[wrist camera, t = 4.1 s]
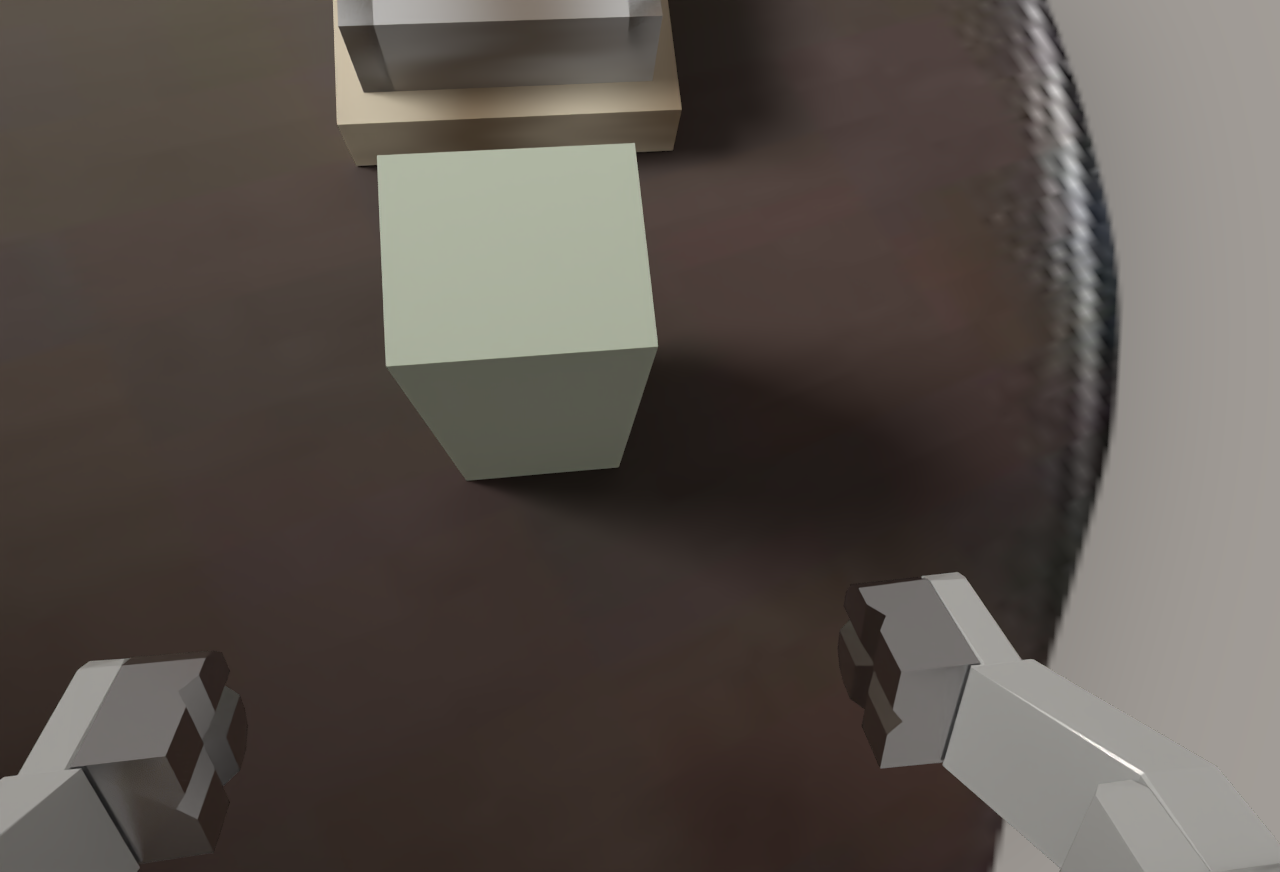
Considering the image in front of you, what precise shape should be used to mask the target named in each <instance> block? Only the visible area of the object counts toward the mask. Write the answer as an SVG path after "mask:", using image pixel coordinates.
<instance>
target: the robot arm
mask: <svg viewBox="0 0 1280 872" xmlns="http://www.w3.org/2000/svg"><path fill="white" fill-rule="evenodd" d="M844 608H845V610H846V612H847V614H848V617H849V619H850V620H849V621H848V622H847V623H846V624H845V625H844V626H843V627H842V628H841V629H840V632H839V641H838V657H839V668H840V671H841V675H842V679H843V683H844V685H845V688H846V690H847V693H848V695H849V697H850V699H851V700H853V701H854V702H855V703H857V704H858V705H859V706H861V707H862V708H864V709H865V710H864V716H863V721H862V728H863V730H864V733H865V735H866V737H867V740H868V742H869V744H870V746H871V749H872V751H873V753H874V756H875V758H876V760H877V763H878V765H879V767H880V768H890V767H900V766H911V765H921V764H931V763H941V762H944V763H943V766H944V767H945V768H946V769H947V770H948V771H949V772H951V773H952V774H953V775H954V776H955V777H956V778H957V779H959V780H960V781H961V782H962V783H963V784H964V785H965V786H967V787H968V788H969V789H970V790H971V791H972V792H974V793H975V794H976V795H977V796H978V797H979V798H980V799H982V800H983V801H984V802H985V803H986V804H987V805H988V806H990V807H991V808H992V809H993V810H994V811H995V812H996V813H998V814H999V815H1000V816H1001V817H1002V818H1003V819H1004V820H1006V821H1007V822H1008V823H1009V824H1010V825H1011V826H1012V827H1014V828H1015V829H1016V830H1017V831H1018V832H1019V833H1020V834H1022V835H1023V836H1024V837H1025V838H1026V839H1027V840H1028V841H1030V842H1031V843H1032V844H1033V845H1034V846H1035V847H1036V848H1038V849H1039V850H1040V851H1041V852H1042V853H1043V854H1045V855H1046V856H1047V857H1048V858H1049V859H1050V860H1051V861H1053V862H1054V863H1055V864H1056V865H1057V866H1058V867H1060V868H1061V870H1060V872H1280V843H1279V842H1278V841H1277V839H1276V838H1275V837H1274V836H1273V834H1272V833H1271V832H1270V831H1269V830H1268V828H1267V827H1266V826H1265V825H1264V823H1263V822H1262V821H1261V820H1260V819H1259V817H1258V816H1257V815H1256V814H1255V812H1254V811H1253V810H1252V809H1251V808H1250V806H1249V805H1248V804H1247V802H1246V801H1245V800H1244V799H1243V798H1242V796H1241V795H1240V794H1239V793H1238V791H1237V790H1236V789H1235V788H1234V787H1233V785H1232V784H1231V783H1230V782H1229V780H1228V779H1227V778H1226V777H1225V776H1224V774H1223V773H1222V772H1221V771H1220V769H1219V768H1218V767H1217V766H1216V765H1214V764H1212V763H1210V762H1209V761H1207V760H1205V759H1204V758H1202V757H1200V756H1199V755H1197V754H1195V753H1193V752H1191V751H1190V750H1188V749H1186V748H1185V747H1183V746H1181V745H1180V744H1178V743H1176V742H1174V741H1173V740H1171V739H1169V738H1168V737H1166V736H1164V735H1162V734H1160V733H1159V732H1157V731H1155V730H1154V729H1152V728H1150V727H1149V726H1147V725H1145V724H1143V723H1142V722H1140V721H1138V720H1137V719H1135V718H1133V717H1131V716H1130V715H1128V714H1126V713H1124V712H1123V711H1121V710H1119V709H1118V708H1116V707H1114V706H1113V705H1111V704H1109V703H1107V702H1106V701H1104V700H1102V699H1100V698H1099V697H1097V696H1095V695H1094V694H1092V693H1090V692H1088V691H1087V690H1085V689H1083V688H1082V687H1080V686H1078V685H1076V684H1075V683H1073V682H1071V681H1070V680H1068V679H1066V678H1064V677H1063V676H1061V675H1059V674H1058V673H1056V672H1054V671H1052V670H1051V669H1049V668H1047V667H1046V666H1044V665H1042V664H1040V663H1039V662H1037V661H1035V660H1034V659H1028V660H1022V659H1021V658H1020V656H1019V655H1018V653H1017V652H1016V651H1015V649H1014V648H1013V646H1012V645H1011V643H1010V642H1009V640H1008V639H1007V637H1006V636H1005V635H1004V633H1003V632H1002V630H1001V629H1000V627H999V626H998V624H997V623H996V621H995V620H994V618H993V617H992V616H991V614H990V613H989V611H988V610H987V608H986V607H985V605H984V604H983V602H982V601H981V600H980V598H979V597H978V595H977V594H976V592H975V591H974V589H973V588H972V586H971V585H970V584H969V582H968V581H967V579H966V578H965V576H963V575H961V574H960V573H958V572H954V573H945V574H936V575H928V576H922V577H911V578H903V579H894V580H885V581H876V582H867V583H858V584H850V586H849V588H848V589H847V591H846V595H845V601H844ZM229 672H230V669H229V667H228V665H227V663H226V661H225V659H224V656H223V654H222V652H217V651H201V652H188V653H176V654H163V655H151V656H138V657H131V658H124V659H111V660H98V661H89V662H88V663H86V664H85V665H84V666H82V667H81V668H80V669H78V670H77V672H76V673H75V675H74V677H73V679H72V680H71V682H70V684H69V686H68V687H67V689H66V691H65V693H64V694H63V696H62V698H61V700H60V701H59V703H58V705H57V707H56V708H55V710H54V712H53V714H52V715H51V717H50V719H49V721H48V722H47V724H46V726H45V728H44V730H43V731H42V733H41V735H40V737H39V738H38V740H37V742H36V744H35V745H34V747H33V749H32V751H31V752H30V754H29V756H28V758H27V759H26V761H25V763H24V765H23V766H22V768H21V770H20V772H19V773H18V775H16V776H9V777H3V778H2V779H1V780H0V872H137V871H138V870H139V869H140V866H139V865H138V864H143V863H149V862H156V861H162V860H169V859H175V858H182V857H188V856H195V855H201V854H208V853H214V851H215V848H216V845H217V842H218V838H219V835H220V832H221V829H222V826H223V823H224V820H225V816H226V813H227V810H228V807H229V804H230V801H229V799H228V797H227V795H226V792H225V790H224V788H223V786H224V785H225V784H226V783H227V782H228V781H229V780H230V779H231V778H232V777H233V776H234V775H235V774H236V773H238V772H239V771H240V768H241V765H242V761H243V758H244V754H245V751H246V742H247V728H248V724H247V718H246V712H245V707H244V705H243V702H242V699H241V697H240V695H239V694H237V693H236V692H234V691H233V690H231V689H229V688H228V687H226V686H225V684H226V681H227V678H228V675H229Z"/></svg>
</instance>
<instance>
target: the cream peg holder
mask: <svg viewBox="0 0 1280 872" xmlns="http://www.w3.org/2000/svg"><path fill="white" fill-rule="evenodd" d="M333 14H334V45H335V76H336V107H337V126H338V128H339V130H340V132H341V134H342V137H343V139H344V141H345V143H346V145H347V147H348V150H349V152H350V154H351V156H352V158H353V160H354V162H355V165H356V166H367V165H377V155H395V154H416V153H436V152H457V151H478V150H499V149H520V148H541V147H561V146H582V145H603V144H624V143H635V149H636V152H650V151H671V150H673V147H674V143H675V138H676V134H677V129H678V125H679V120H680V116H681V111H682V107H681V99H680V91H679V84H678V76H677V68H676V60H675V53H674V45H673V37H672V29H671V21H670V14H669V6H668V0H333Z"/></svg>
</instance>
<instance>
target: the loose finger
mask: <svg viewBox="0 0 1280 872" xmlns="http://www.w3.org/2000/svg"><path fill="white" fill-rule="evenodd" d="M377 171H378V194H379V217H380V240H381V264H382V287H383V310H384V333H385V357H386V367H387V369H388V370H389V372H390V373H391V374H392V376H393V377H394V379H395V380H396V382H397V383H398V384H399V386H400V387H401V389H402V390H403V391H404V393H405V394H406V396H407V397H408V399H409V400H410V401H411V403H412V404H413V406H414V407H415V408H416V410H417V411H418V413H419V414H420V416H421V417H422V418H423V420H424V421H425V423H426V424H427V425H428V427H429V428H430V430H431V431H432V433H433V434H434V435H435V437H436V438H437V440H438V441H439V442H440V444H441V445H442V447H443V448H444V450H445V451H446V452H447V454H448V455H449V457H450V458H451V459H452V461H453V462H454V464H455V465H456V467H457V468H458V469H459V471H460V472H461V474H462V475H463V476H464V478H465V479H466V481H470V480H481V479H492V478H504V477H515V476H526V475H537V474H549V473H560V472H571V471H583V470H594V469H605V468H617V467H619V465H620V462H621V459H622V456H623V453H624V450H625V447H626V444H627V441H628V437H629V434H630V431H631V428H632V425H633V422H634V419H635V416H636V413H637V410H638V407H639V404H640V401H641V398H642V395H643V391H644V388H645V385H646V382H647V379H648V376H649V373H650V370H651V367H652V364H653V361H654V358H655V355H656V352H657V349H658V341H657V332H656V323H655V315H654V306H653V297H652V288H651V280H650V271H649V262H648V254H647V245H646V236H645V227H644V219H643V210H642V201H641V192H640V184H639V175H638V166H637V157H636V149H635V143H624V144H603V145H582V146H561V147H541V148H520V149H499V150H478V151H457V152H436V153H416V154H395V155H377Z"/></svg>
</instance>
